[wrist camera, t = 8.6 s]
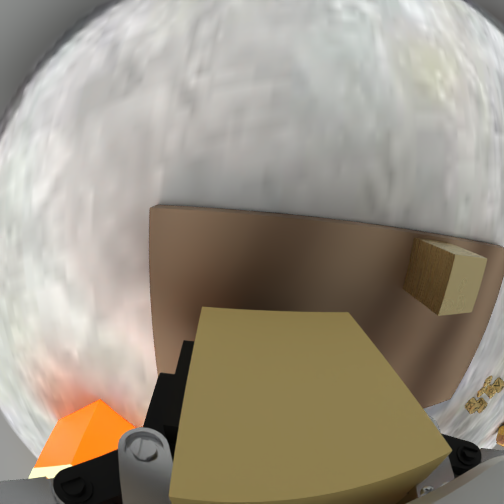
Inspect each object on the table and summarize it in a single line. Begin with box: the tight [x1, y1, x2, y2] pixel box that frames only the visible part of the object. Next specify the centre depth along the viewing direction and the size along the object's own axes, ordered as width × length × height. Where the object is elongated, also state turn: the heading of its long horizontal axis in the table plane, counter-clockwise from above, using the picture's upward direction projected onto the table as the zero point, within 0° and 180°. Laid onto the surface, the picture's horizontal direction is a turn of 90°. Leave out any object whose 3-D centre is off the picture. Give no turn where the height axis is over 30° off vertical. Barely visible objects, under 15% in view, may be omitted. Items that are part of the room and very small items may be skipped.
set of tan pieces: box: [465, 376, 504, 414], centre depth 18 cm, size 5×5×2 cm
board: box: [149, 205, 504, 408], centre depth 13 cm, size 22×13×1 cm, turn 85°
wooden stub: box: [402, 237, 487, 316], centre depth 10 cm, size 3×3×3 cm
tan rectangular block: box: [169, 307, 452, 504], centre depth 7 cm, size 5×5×7 cm
